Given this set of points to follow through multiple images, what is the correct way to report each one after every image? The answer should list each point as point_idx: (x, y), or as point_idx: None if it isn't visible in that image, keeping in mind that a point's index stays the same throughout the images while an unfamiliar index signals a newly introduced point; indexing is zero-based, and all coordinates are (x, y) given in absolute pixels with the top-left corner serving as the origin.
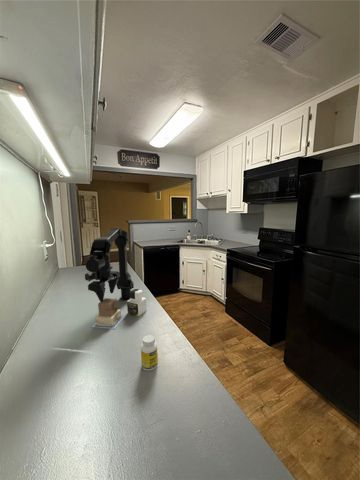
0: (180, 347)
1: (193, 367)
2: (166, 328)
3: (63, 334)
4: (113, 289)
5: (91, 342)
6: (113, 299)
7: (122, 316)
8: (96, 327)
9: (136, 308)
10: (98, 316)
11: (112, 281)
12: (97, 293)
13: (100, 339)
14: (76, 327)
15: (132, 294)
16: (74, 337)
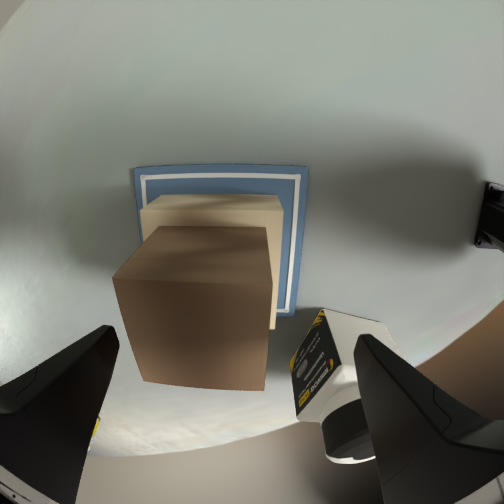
0: (157, 446)
1: (121, 448)
2: (220, 433)
3: (77, 66)
4: (364, 405)
5: (62, 249)
6: (246, 375)
7: (283, 299)
8: (141, 207)
9: (296, 391)
10: (152, 223)
11: (414, 494)
12: (22, 399)
13: (86, 275)
14: (137, 74)
15: (329, 444)
16: (64, 143)
